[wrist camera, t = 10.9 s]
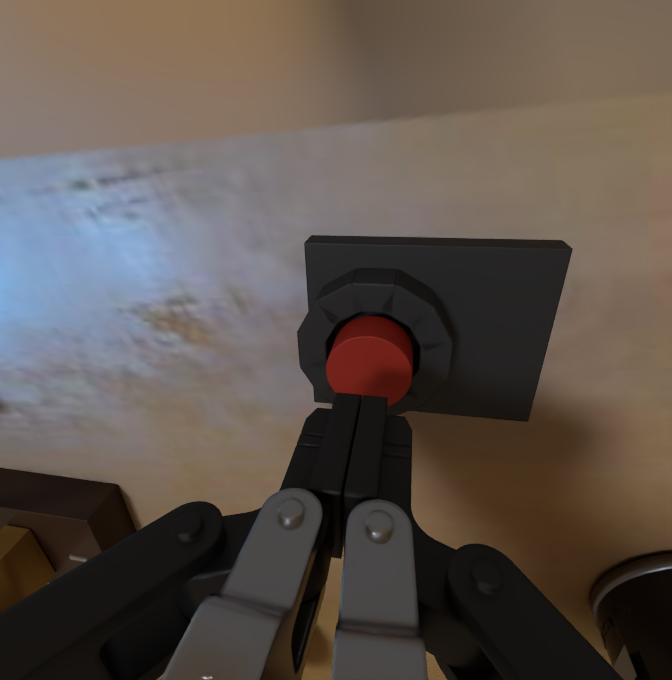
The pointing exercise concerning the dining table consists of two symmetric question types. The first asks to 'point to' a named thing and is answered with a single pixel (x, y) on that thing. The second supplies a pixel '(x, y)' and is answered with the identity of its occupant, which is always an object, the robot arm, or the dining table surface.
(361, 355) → the bell button
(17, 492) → the plate
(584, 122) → the dining table surface
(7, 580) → the tan switch toggle
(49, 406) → the dining table surface
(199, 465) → the dining table surface
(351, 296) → the doorbell
